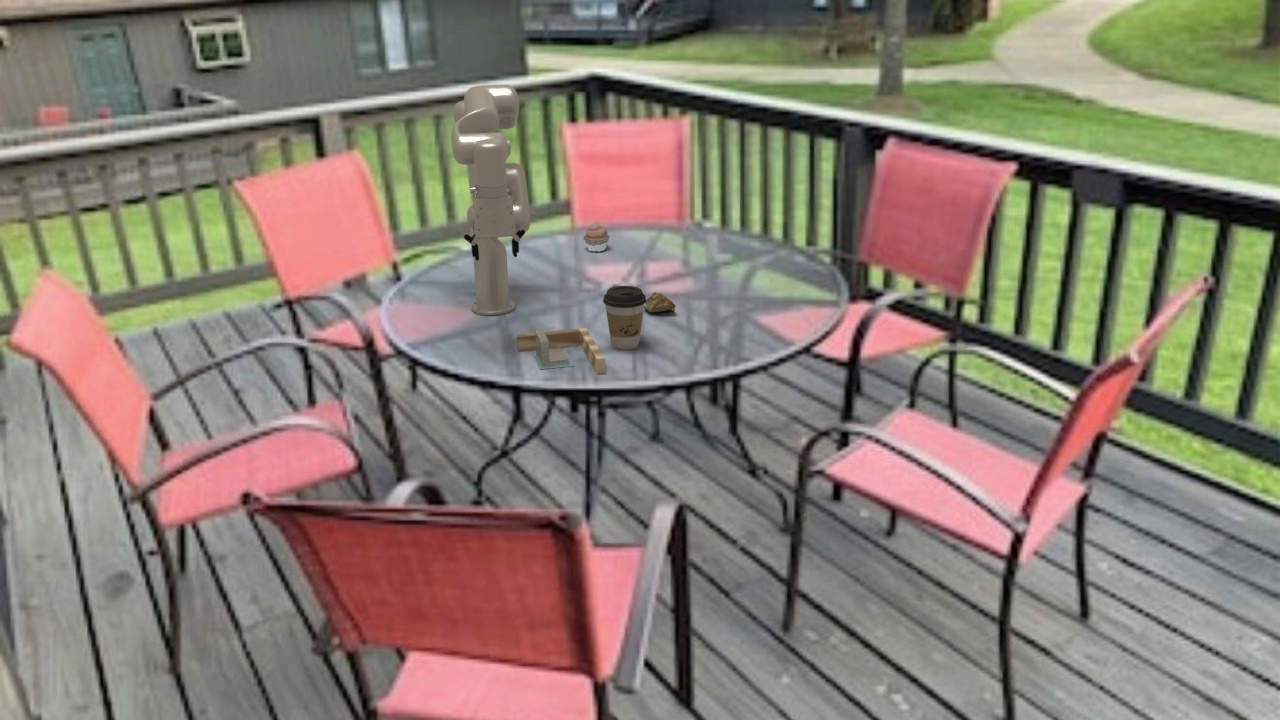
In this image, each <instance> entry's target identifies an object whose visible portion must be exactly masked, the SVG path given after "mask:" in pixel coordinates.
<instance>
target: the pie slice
mask: <svg viewBox="0 0 1280 720" xmlns="http://www.w3.org/2000/svg"><path fill="white" fill-rule="evenodd" d="M646 302H647V303H646V304H645V305H644V308H643V309H645V310H646V311H648V312H649V313H660V312H659V311H662V312H664V311H663V310H672V309H674V310H675V308H676V307H677V306H676V304H675V303H674V302H673V301H672V300H671V299H670V298H667V296H666V295H664V294H662V293H660V292H656V291H655V292H653V293H652V294H651V295H650V296H649V297H648V298H646ZM672 311H673V310H672Z"/></svg>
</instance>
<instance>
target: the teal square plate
mask: <svg viewBox="0 0 1280 720" xmlns="http://www.w3.org/2000/svg"><path fill="white" fill-rule="evenodd" d="M565 353H566V354H567V356H568V358H569V365H562V366H554V367H545V368H542V367H541V365H540V363H539V361H538V359H537V357H536V355H534V357H535V361H536V363H537V365H538V367H539V369H540V370H541V371H542V370H544V371H545V370H552V369H559V368H560V369H561V368H568V367H569V368H570V367H575V364H574V363H573V361H572V359H571V357H570V355H569V354H568V352H565Z"/></svg>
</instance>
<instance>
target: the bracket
mask: <svg viewBox="0 0 1280 720" xmlns="http://www.w3.org/2000/svg"><path fill="white" fill-rule="evenodd" d="M544 332H545V331H544V329H541V330H539V329H538V330H535V331H534V333H535V341H536V350H535V356H536V357H537V359H538V361H539V363H540V365H541V367H542V368H545V367H554V366H562V365H569V358H568V356H567V354H566V352H565V350H564V347H558V348H549V341H548V339H547V337H546V335H545V333H544Z"/></svg>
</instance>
